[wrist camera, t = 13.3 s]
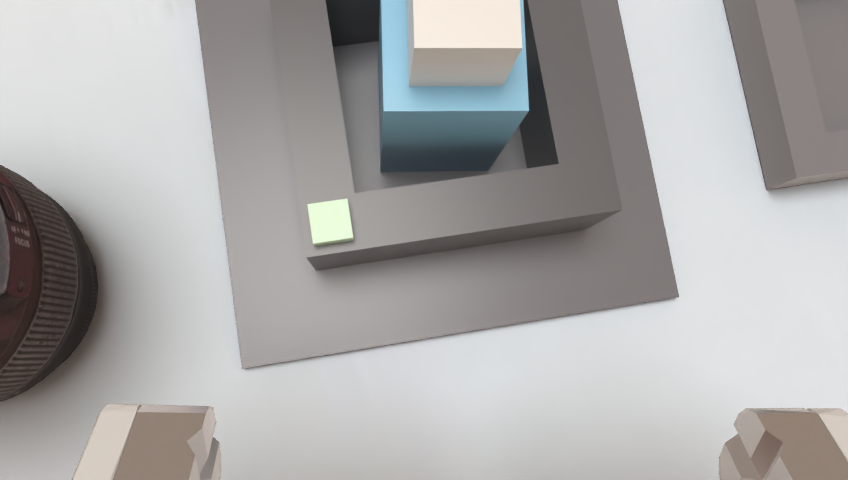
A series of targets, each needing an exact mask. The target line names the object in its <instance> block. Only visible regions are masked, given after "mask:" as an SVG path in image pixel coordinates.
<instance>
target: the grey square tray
mask: <svg viewBox="0 0 848 480" xmlns="http://www.w3.org/2000/svg"><path fill="white" fill-rule="evenodd" d="M723 1H724V5H725V9H726V14H727V18H728V23H729V27H730V31H731V36H732V40H733V44H734V49H735V53H736V58H737V62H738V66H739V71H740V75H741V80H742V84H743V88H744V93H745V97H746V101H747V106H748V110H749V115H750V119H751V123H752V128H753V132H754V136H755V141H756V145H757V150H758V154H759V158H760V163H761V167H762V171H763V176H764V180H765V185H766V189H767V190H770V189H776V188H783V187H789V186H796V185H803V184H809V183H816V182H822V181H829V180H836V179H842V178H848V0H723Z"/></svg>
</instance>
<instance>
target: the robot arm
mask: <svg viewBox="0 0 848 480" xmlns="http://www.w3.org/2000/svg"><path fill="white" fill-rule="evenodd" d="M215 425H216V419H215V414H214V409H213V407H210V406H179V405H146V404H142V405H134V404H107V405H106V406H105V407H104V408H103V410H102V411H101V412H100V413H99V415H98V418H97V420H96V423H95V425H94V427H93V430H92V432H91V435H90V437H89V439H88V442H87V444H86V447H85V449H84V452H83V454H82V456H81V459H80V461H79V464H78V466H77V468H76V471H75V473H74V476H73V478H72V480H220V474H221V451H220V444H219V442H218V441H217V440H216V439H215V438H214V437H213V434H214V430H215ZM734 426H735V428H736V430H737V432H738V435H736V436H735V437H733V438H732V439H730V440H729V441H727V442H726V443H725V444H724V447H723V449H722V452H721V454H720V457H719V477H720V480H848V414H847V413H846V412H845V411H843V410H842V409H805V408H746V409H745V410H743V411H742V412H740V413H739V415H738V417H737V419H736V421H735V423H734Z"/></svg>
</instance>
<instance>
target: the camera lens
mask: <svg viewBox="0 0 848 480" xmlns="http://www.w3.org/2000/svg"><path fill="white" fill-rule="evenodd" d="M96 302H97V275H96V268H95V264H94V261H93V258H92V255H91V253H90V251H89V248H88V246H87V244H86V243H85V241H84V239H83V236H82V233H81V232H80V230H79V229H78V227H77V226H76V224H75V223H74V221H73V220H72V218H71V217H70V215H69V214H68V213H67V212H66V211H65V210H64V209H63V208H62V207H61V206H60V205H59V204H58V203H57V202H56V201H54V200H53V199H52V198H51V197H49V196H48V195H46V194H45V193H44V192H42V191H41V190H39V189H38V188H36V187H35V186H34V185H33V184H32V183H31V182H29V181H28V180H26V179H25V178H23V177H22V176H20V175H18V174H17V173H15V172H13V171H11V170H9V169H7V168H5V167H3V166H2V165H0V402H1V401H4V400H6V399H9V398H12V397H14V396H16V395H18V394H20V393H22V392H24V391H26V390H28V389H29V388H31V387H33V386H34V385H36V384H37V383H38V382H40V381H41V380H43V379H44V378H45V377H46V376H48V375H49V374H50V373H51V372H52V371H53V370H54V369H55V368H57V367H58V366H59V365H60V364H61V363H62V362H64V361H65V360H66V359H67V358H68V357H69V356H70V355H71V354H72V353H73V351H74V350H75V349H76V348H77V346H78V345H79V344H80V342H81V340H82V339H83V337H84V336H85V334H86V332H87V330H88V327H89V325H90V323H91V321H92V318H93V314H94V311H95V308H96Z"/></svg>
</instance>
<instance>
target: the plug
mask: <svg viewBox="0 0 848 480" xmlns="http://www.w3.org/2000/svg"><path fill="white" fill-rule="evenodd" d="M378 84H379V132H380V172H423V171H488V170H489V169H490V167H491V166H492V164H493V163H494V162H495V160H496V159H497V157H498V156H499V154H500V153H501V151H502V150H503V148H504V147H505V145H506V144H507V142H508V141H509V139H510V138H511V136H512V135H513V133H514V132H515V131H516V129H517V128H518V126H519V125H520V123H521V122H522V120H523V119H524V117H525V116H526V114H527V113H528V111H529V100H528V81H527V61H526V42H525V22H524V2H523V0H380V17H379V55H378Z"/></svg>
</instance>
